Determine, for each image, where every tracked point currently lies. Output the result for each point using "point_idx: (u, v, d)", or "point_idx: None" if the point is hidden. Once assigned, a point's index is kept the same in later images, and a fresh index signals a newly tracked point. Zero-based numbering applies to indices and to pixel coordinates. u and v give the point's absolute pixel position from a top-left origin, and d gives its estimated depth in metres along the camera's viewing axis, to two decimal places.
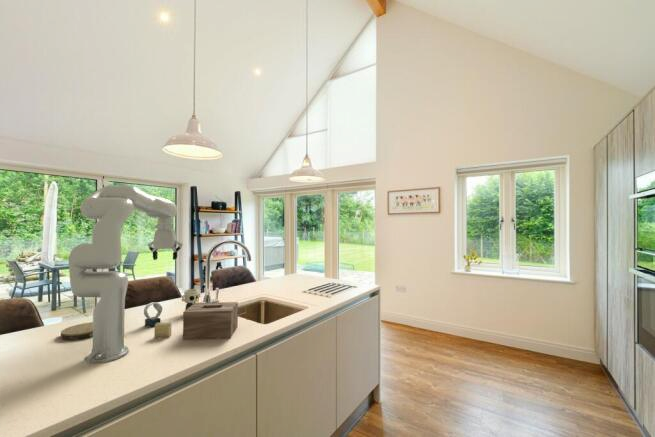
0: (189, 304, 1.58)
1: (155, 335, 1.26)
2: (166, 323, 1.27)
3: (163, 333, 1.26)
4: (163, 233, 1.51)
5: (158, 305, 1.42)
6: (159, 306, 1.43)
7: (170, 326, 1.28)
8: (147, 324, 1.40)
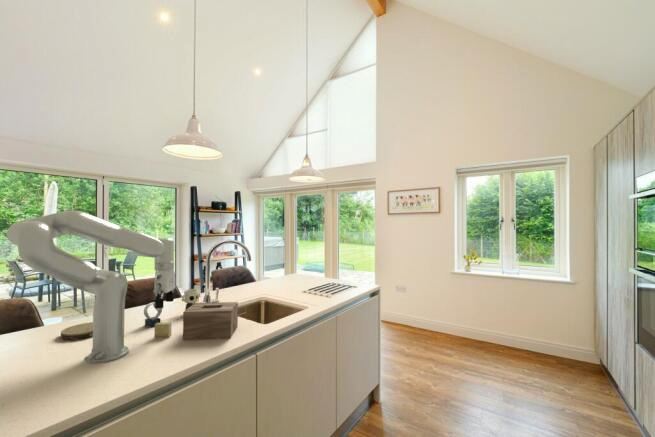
0: (189, 304, 1.58)
1: (155, 335, 1.26)
2: (166, 323, 1.27)
3: (163, 333, 1.26)
4: (170, 272, 1.28)
5: None
6: None
7: (170, 326, 1.28)
8: (147, 324, 1.40)
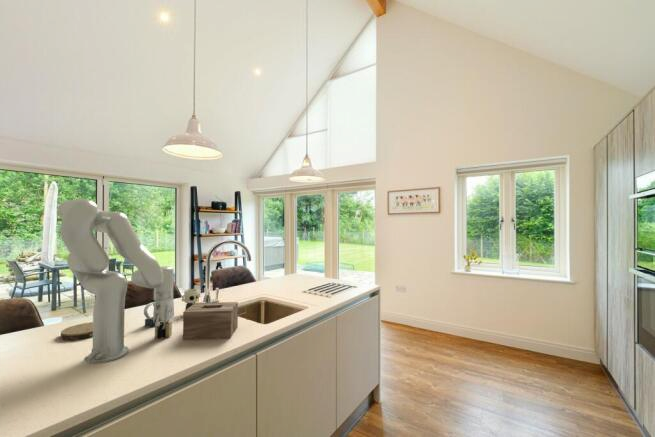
0: (189, 304, 1.58)
1: (155, 335, 1.26)
2: (166, 323, 1.27)
3: None
4: (170, 301, 1.28)
5: None
6: None
7: (170, 326, 1.28)
8: (147, 324, 1.40)
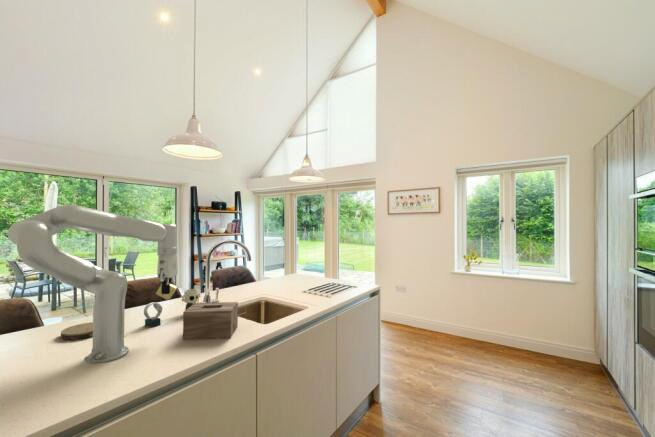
0: (189, 304, 1.58)
1: (157, 291, 1.26)
2: (173, 286, 1.28)
3: None
4: (173, 258, 1.28)
5: (158, 305, 1.42)
6: (159, 306, 1.43)
7: (174, 290, 1.29)
8: (147, 324, 1.40)
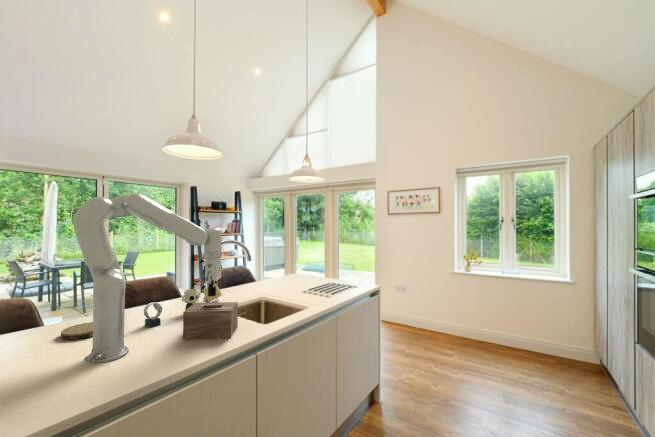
0: (189, 304, 1.58)
1: (205, 289, 1.31)
2: (219, 292, 1.33)
3: None
4: (219, 261, 1.33)
5: (158, 305, 1.42)
6: (159, 306, 1.43)
7: (218, 296, 1.33)
8: (147, 324, 1.40)
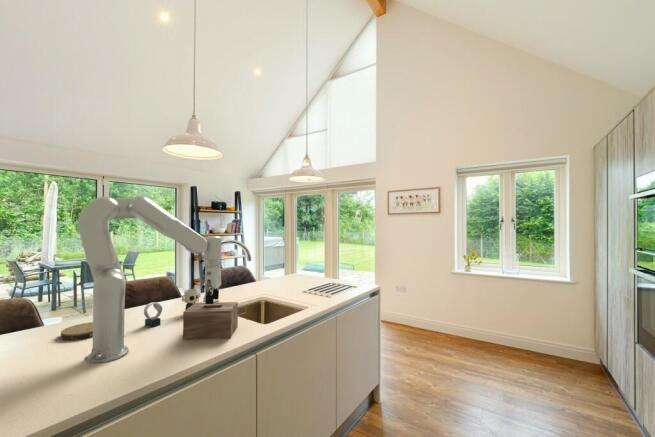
0: (189, 304, 1.58)
1: None
2: None
3: None
4: (218, 269, 1.33)
5: (158, 305, 1.42)
6: (159, 306, 1.43)
7: None
8: (147, 324, 1.40)
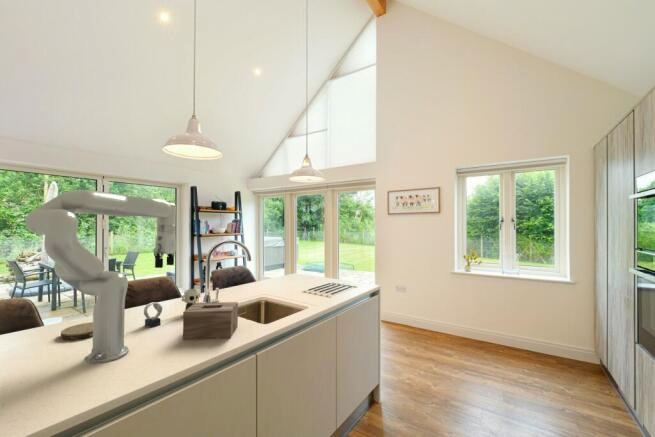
0: (189, 304, 1.58)
1: None
2: None
3: None
4: (171, 236, 1.34)
5: (158, 305, 1.42)
6: (159, 306, 1.43)
7: None
8: (147, 324, 1.40)
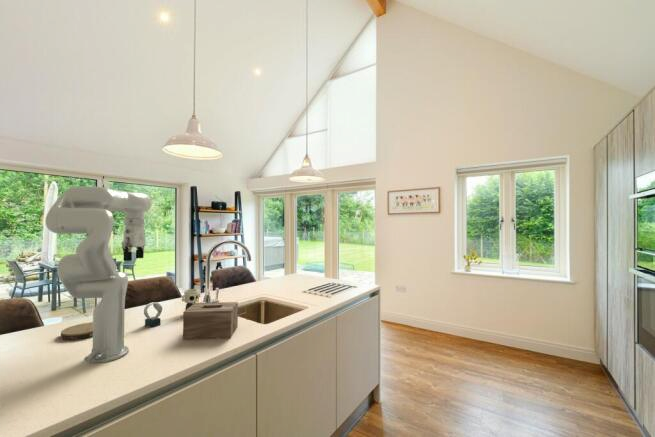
0: (189, 304, 1.58)
1: None
2: None
3: None
4: (140, 229, 1.35)
5: (158, 305, 1.42)
6: (159, 306, 1.43)
7: None
8: (147, 324, 1.40)
